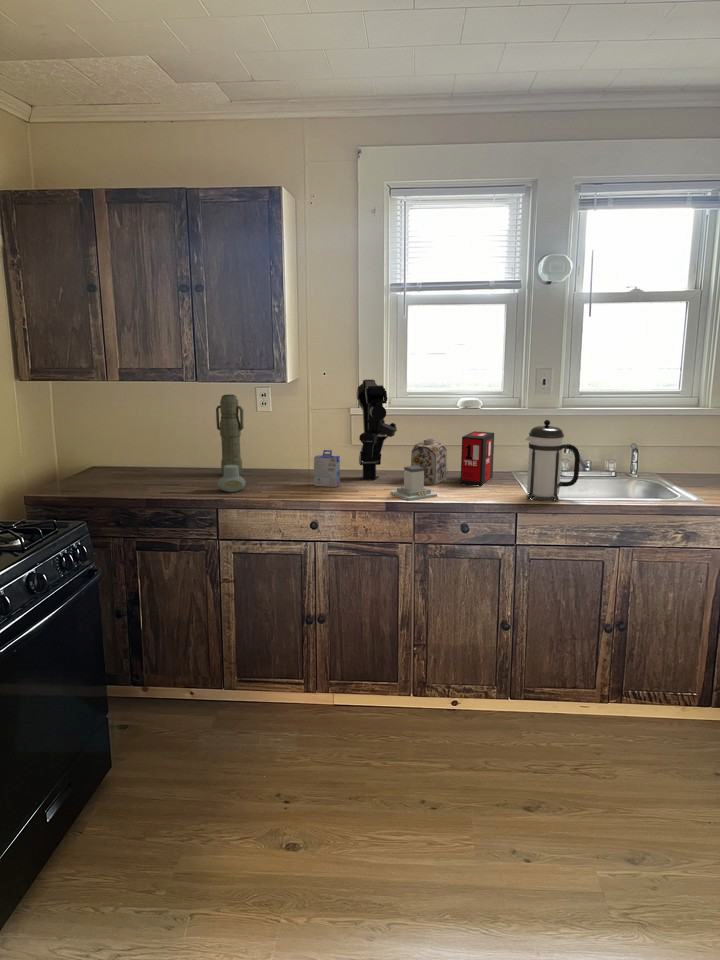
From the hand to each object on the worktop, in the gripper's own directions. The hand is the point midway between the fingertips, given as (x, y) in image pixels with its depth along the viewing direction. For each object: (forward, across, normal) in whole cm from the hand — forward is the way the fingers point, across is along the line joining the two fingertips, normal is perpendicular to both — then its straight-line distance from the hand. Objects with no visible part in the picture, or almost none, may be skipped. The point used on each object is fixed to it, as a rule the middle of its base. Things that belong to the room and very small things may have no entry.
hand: (374, 455), depth 283 cm
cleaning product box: (+13, +26, -36) cm, 46 cm away
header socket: (+13, -7, -19) cm, 24 cm away
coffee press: (+13, +9, -67) cm, 69 cm away
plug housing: (+12, -7, -19) cm, 24 cm away
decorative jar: (+13, +19, -17) cm, 29 cm away
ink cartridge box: (+13, -5, +19) cm, 24 cm away
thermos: (+13, -3, +66) cm, 67 cm away
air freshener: (+13, -28, +50) cm, 59 cm away
